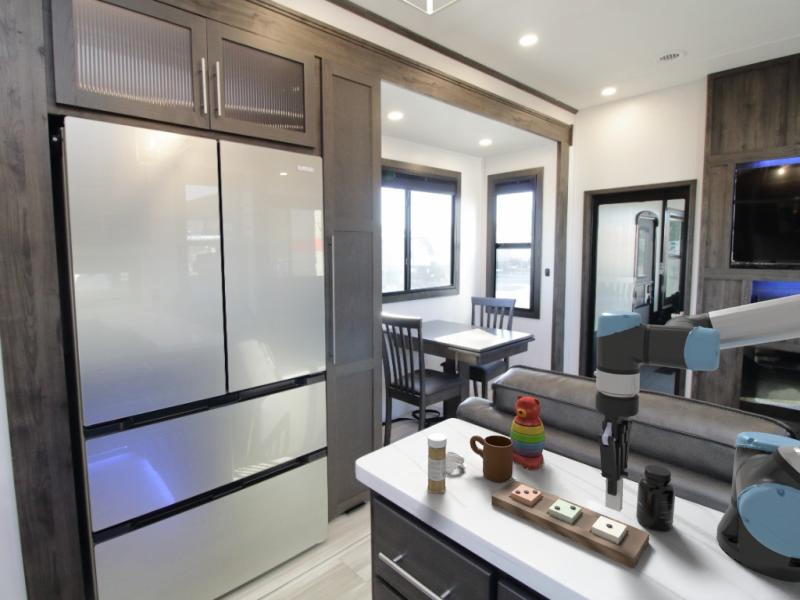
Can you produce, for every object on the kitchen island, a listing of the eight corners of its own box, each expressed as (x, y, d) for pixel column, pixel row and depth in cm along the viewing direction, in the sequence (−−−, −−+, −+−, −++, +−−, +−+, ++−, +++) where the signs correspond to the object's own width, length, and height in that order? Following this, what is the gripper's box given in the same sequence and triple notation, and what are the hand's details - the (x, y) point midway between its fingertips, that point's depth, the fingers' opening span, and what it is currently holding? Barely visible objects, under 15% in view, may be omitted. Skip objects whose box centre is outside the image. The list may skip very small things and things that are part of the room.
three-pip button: (541, 504, 100) (541, 491, 99) (530, 513, 96) (531, 500, 96) (521, 496, 103) (521, 483, 103) (510, 504, 100) (511, 491, 99)
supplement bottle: (628, 517, 95) (631, 464, 94) (651, 510, 98) (654, 459, 96) (656, 536, 89) (660, 480, 88) (680, 528, 91) (684, 474, 90)
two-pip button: (580, 521, 94) (581, 507, 93) (571, 531, 90) (572, 517, 90) (558, 511, 97) (558, 498, 97) (548, 521, 93) (548, 507, 93)
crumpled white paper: (432, 469, 119) (430, 452, 118) (449, 459, 123) (447, 443, 122) (454, 478, 113) (452, 460, 112) (471, 468, 117) (469, 450, 116)
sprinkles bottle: (435, 482, 110) (435, 431, 108) (449, 489, 106) (450, 436, 105) (423, 489, 106) (423, 436, 105) (438, 496, 103) (438, 442, 102)
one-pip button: (625, 540, 87) (626, 525, 87) (617, 552, 84) (618, 536, 84) (600, 529, 91) (600, 514, 91) (591, 540, 87) (591, 525, 87)
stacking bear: (499, 457, 123) (500, 396, 121) (520, 447, 130) (521, 389, 128) (532, 471, 115) (534, 406, 113) (553, 460, 122) (555, 398, 120)
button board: (648, 542, 87) (649, 533, 87) (633, 568, 80) (634, 558, 79) (513, 487, 107) (513, 479, 107) (491, 503, 100) (491, 495, 100)
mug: (462, 471, 115) (463, 437, 114) (476, 460, 121) (477, 428, 120) (504, 486, 108) (505, 450, 107) (517, 474, 114) (518, 439, 113)
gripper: (608, 380, 91) (605, 488, 94) (584, 395, 82) (581, 514, 84) (648, 387, 86) (644, 501, 88) (627, 404, 77) (623, 530, 79)
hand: (613, 507), depth 86 cm, fingers closed
